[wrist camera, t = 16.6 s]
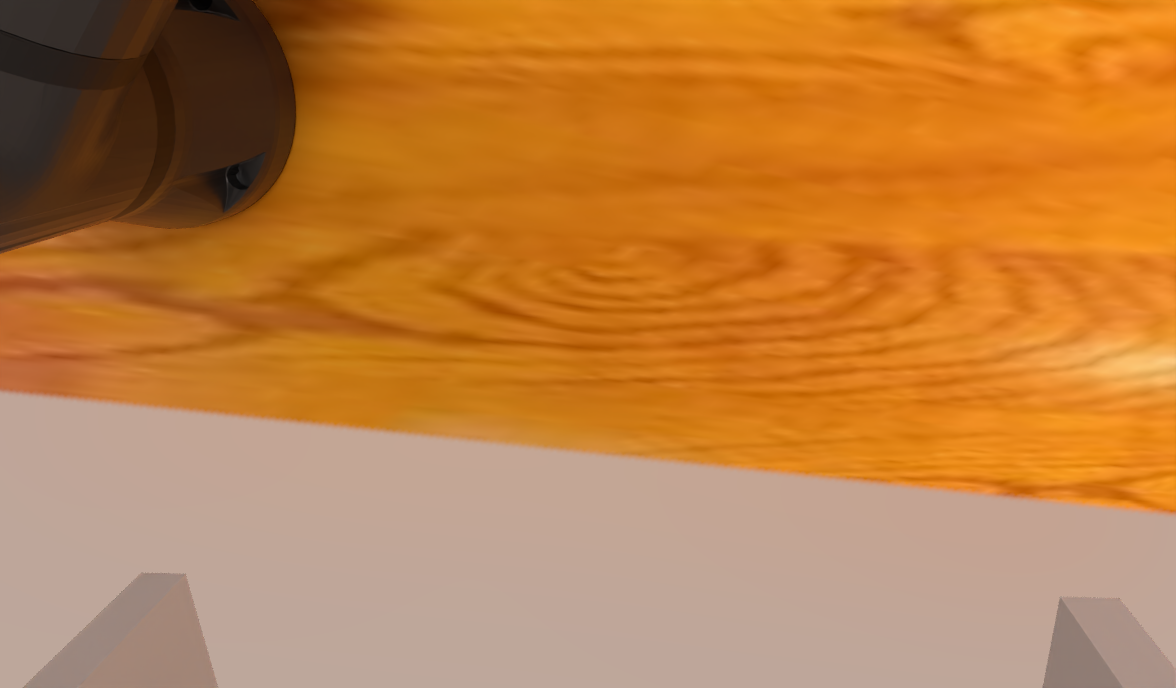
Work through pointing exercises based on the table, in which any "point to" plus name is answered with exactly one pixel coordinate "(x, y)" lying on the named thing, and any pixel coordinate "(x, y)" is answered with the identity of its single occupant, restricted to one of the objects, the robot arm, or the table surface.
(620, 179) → the table surface
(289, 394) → the table surface
